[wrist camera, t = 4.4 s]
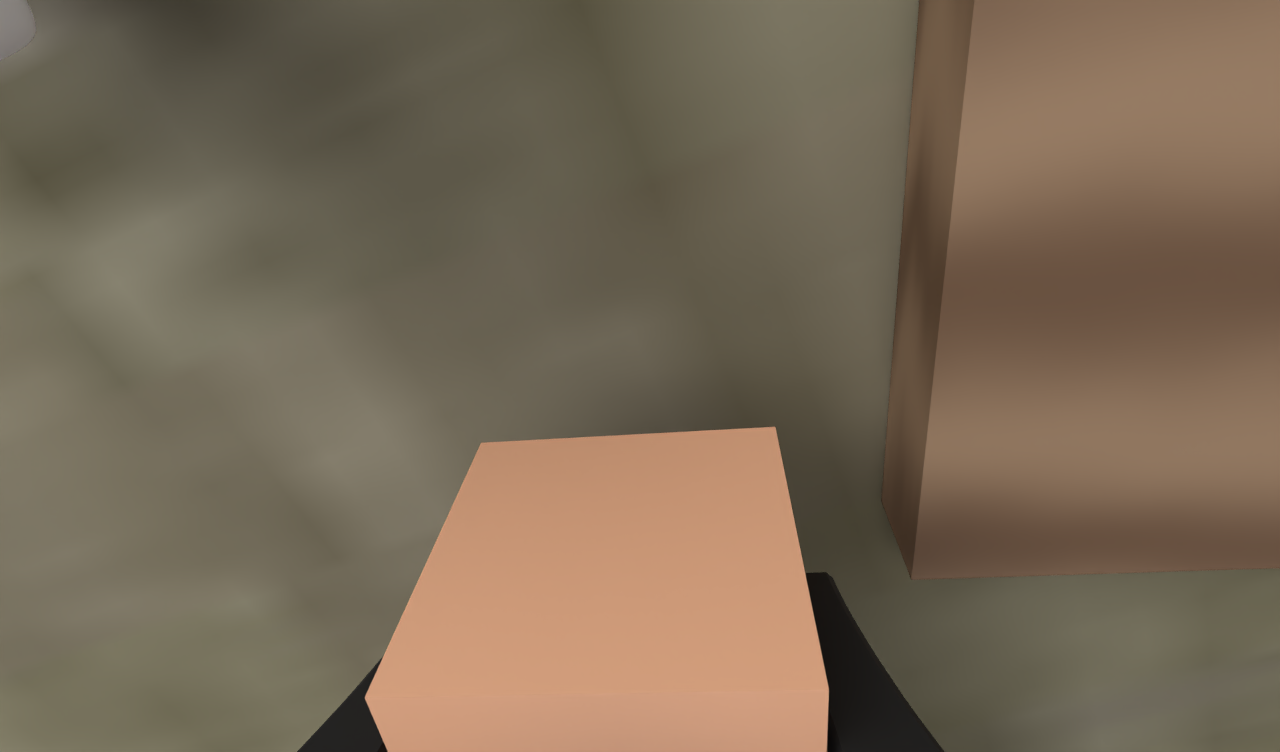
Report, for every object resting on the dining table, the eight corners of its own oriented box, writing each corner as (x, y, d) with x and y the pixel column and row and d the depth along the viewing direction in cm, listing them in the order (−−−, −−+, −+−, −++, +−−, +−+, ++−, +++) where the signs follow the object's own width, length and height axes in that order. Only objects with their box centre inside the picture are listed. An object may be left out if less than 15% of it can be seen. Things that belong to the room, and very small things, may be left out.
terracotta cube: (778, 639, 14) (820, 935, 10) (531, 645, 14) (464, 929, 10) (775, 426, 12) (829, 689, 7) (480, 442, 12) (364, 698, 8)
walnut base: (1436, 477, 18) (1562, 558, 16) (881, 500, 20) (911, 579, 17) (1804, -208, 12) (2129, -265, 9) (926, -98, 13) (987, -119, 10)
